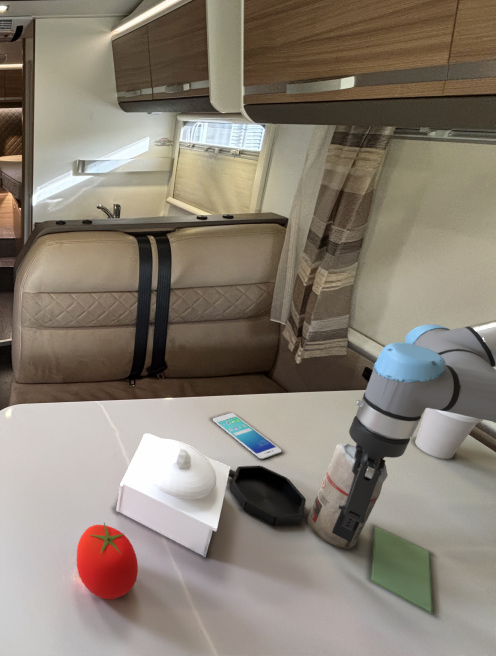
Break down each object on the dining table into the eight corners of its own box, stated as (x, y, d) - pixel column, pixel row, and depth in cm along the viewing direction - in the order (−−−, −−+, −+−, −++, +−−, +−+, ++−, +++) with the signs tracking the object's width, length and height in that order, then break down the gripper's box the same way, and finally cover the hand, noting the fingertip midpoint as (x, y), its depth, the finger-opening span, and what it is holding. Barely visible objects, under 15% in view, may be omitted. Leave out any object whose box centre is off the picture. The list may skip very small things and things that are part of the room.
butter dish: (140, 459, 104) (148, 407, 98) (222, 495, 94) (237, 440, 88) (115, 512, 91) (123, 455, 85) (207, 561, 81) (224, 501, 75)
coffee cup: (458, 472, 99) (486, 421, 94) (403, 449, 106) (426, 400, 100) (461, 451, 105) (487, 402, 99) (409, 430, 112) (431, 383, 106)
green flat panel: (428, 555, 81) (430, 551, 81) (431, 616, 72) (434, 612, 72) (373, 529, 87) (375, 525, 86) (370, 582, 77) (371, 579, 77)
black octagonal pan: (305, 497, 93) (309, 486, 92) (294, 539, 85) (299, 528, 83) (200, 447, 107) (203, 437, 106) (182, 479, 98) (184, 468, 97)
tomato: (138, 617, 72) (146, 575, 68) (75, 605, 74) (79, 564, 70) (129, 556, 82) (136, 517, 78) (73, 547, 84) (77, 508, 80)
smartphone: (232, 412, 118) (283, 450, 105) (231, 414, 118) (282, 453, 105) (211, 418, 115) (261, 459, 102) (210, 421, 116) (260, 461, 103)
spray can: (316, 505, 92) (344, 432, 84) (363, 534, 85) (398, 459, 78) (298, 525, 87) (326, 450, 80) (347, 558, 81) (382, 480, 74)
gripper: (359, 384, 86) (328, 463, 94) (348, 455, 69) (311, 544, 77) (410, 400, 81) (373, 482, 89) (412, 481, 64) (366, 573, 72)
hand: (344, 511), depth 83 cm, fingers open, 13 cm apart
